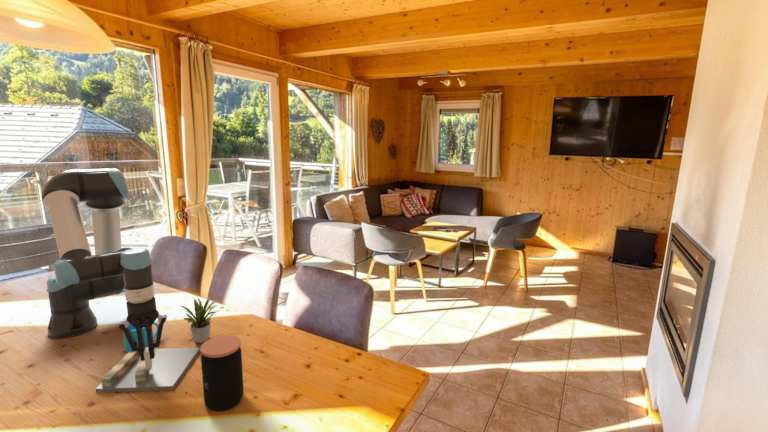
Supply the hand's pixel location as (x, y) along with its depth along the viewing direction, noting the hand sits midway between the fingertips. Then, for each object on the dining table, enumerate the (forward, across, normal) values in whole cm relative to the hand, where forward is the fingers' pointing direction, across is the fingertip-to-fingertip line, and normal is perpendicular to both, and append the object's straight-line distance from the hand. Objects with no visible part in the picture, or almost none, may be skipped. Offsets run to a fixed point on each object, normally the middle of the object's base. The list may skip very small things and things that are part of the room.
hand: (149, 368), depth 123 cm
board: (+3, 0, +4) cm, 5 cm away
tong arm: (+1, -2, +3) cm, 4 cm away
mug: (+3, -5, +23) cm, 24 cm away
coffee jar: (+4, +22, -21) cm, 31 cm away
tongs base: (+1, -6, +6) cm, 9 cm away
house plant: (+3, +16, +18) cm, 25 cm away
